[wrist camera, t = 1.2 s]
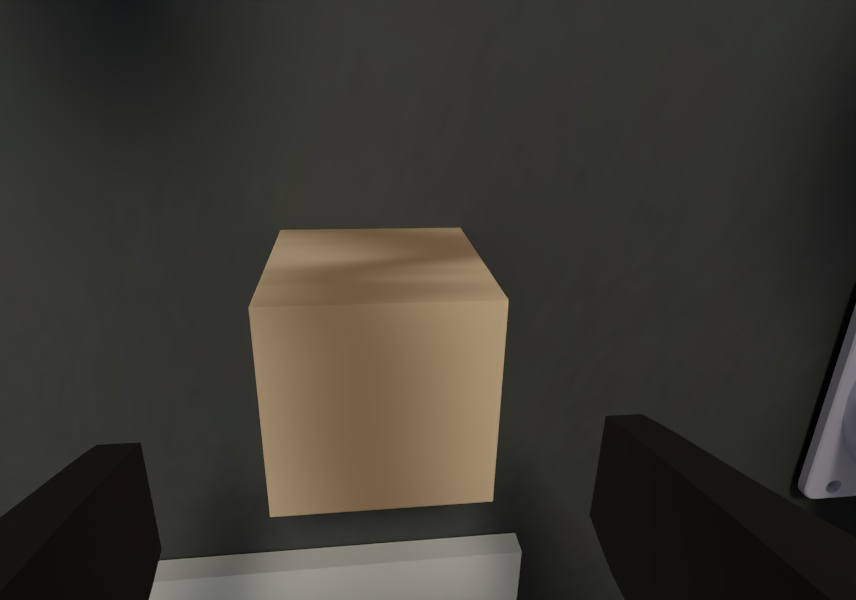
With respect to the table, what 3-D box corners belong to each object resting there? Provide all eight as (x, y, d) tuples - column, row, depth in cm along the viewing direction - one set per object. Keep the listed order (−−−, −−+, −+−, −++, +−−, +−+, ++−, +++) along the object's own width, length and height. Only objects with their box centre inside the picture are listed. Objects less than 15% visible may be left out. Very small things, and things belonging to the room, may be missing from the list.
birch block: (459, 227, 15) (508, 300, 10) (453, 380, 17) (492, 501, 12) (281, 229, 14) (248, 307, 10) (292, 387, 16) (269, 517, 12)
